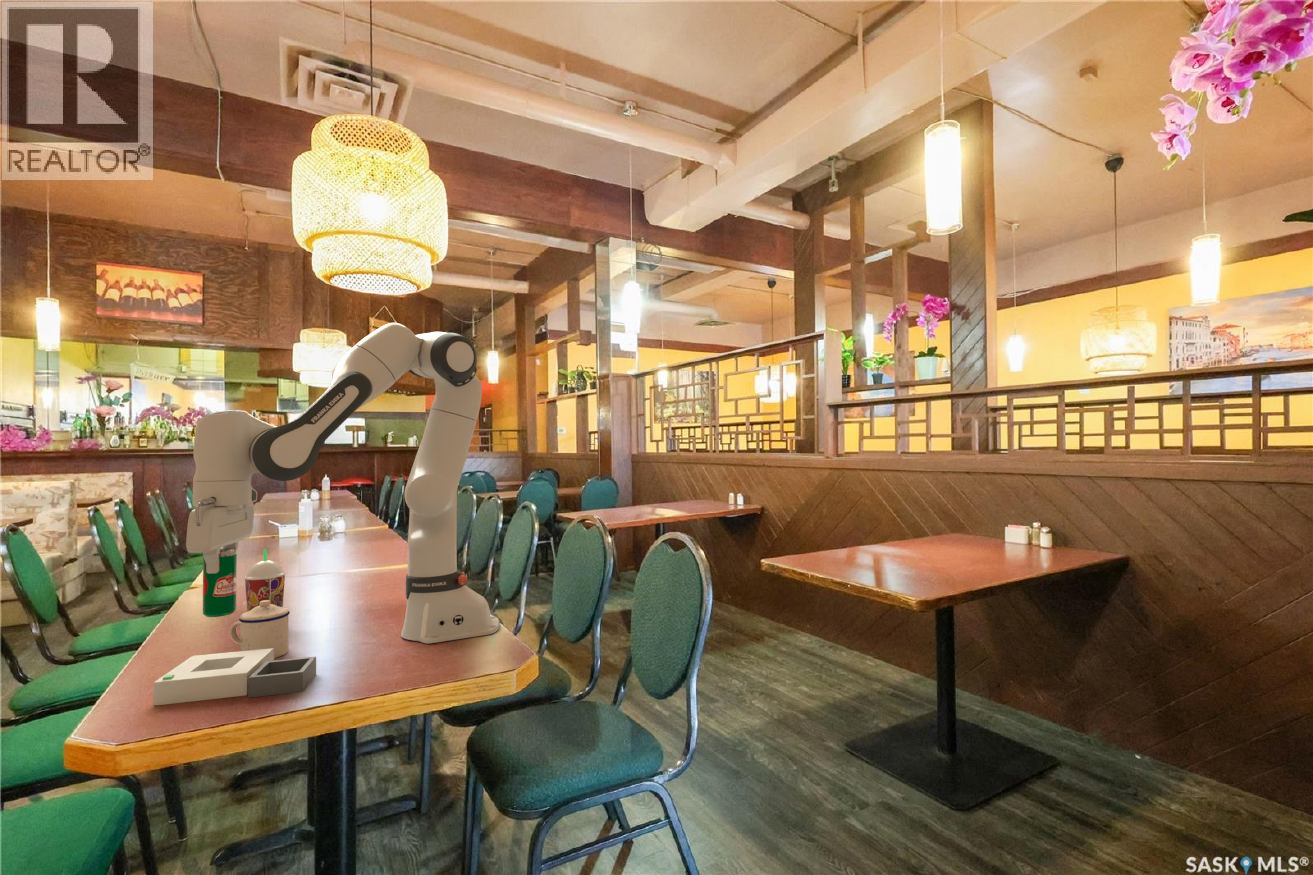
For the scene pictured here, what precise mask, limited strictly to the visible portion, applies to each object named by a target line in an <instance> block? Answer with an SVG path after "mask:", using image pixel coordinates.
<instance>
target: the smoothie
mask: <svg viewBox="0 0 1313 875" xmlns="http://www.w3.org/2000/svg"><path fill="white" fill-rule="evenodd" d="M267 555H268V551H267V548H264V549H263V559H262V560H260V561H257V562H256V563H254V564H252V566H251V567H249V569H248V570H247V573H246V575H245V576H244V586H245V597H246V598H245V599H246V612H248V611H250V610H252V609H253V608H255V607H257V606H260V605H259V603H260V601H263V600H269V601H270V604H273V605H277V606H279V607H284V594H285V593H284V592H285V578H286V572H285V570H284V569H283V567H282V566H281V565H280V564H279V563H278V562H276V561H274V560H270V559H268V556H267Z"/></svg>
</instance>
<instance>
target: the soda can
mask: <svg viewBox="0 0 1313 875" xmlns="http://www.w3.org/2000/svg"><path fill="white" fill-rule="evenodd" d="M218 555H219V562H221V571H220V572H218V573H214V574H208V573H207V572H206V562H205V560H204V557H202V614H203V615H204V616H205V618H206V617H207V618H220V617H227V616H229V615H232V614H233V613H235V611H236V610H237V573H238V572H237V565H238V563H237V558H238V557H237V556H238V554H237V552H236V553H235V552H234V549H233V548H223V547H222V548H220V554H218Z"/></svg>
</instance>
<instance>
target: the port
mask: <svg viewBox="0 0 1313 875" xmlns="http://www.w3.org/2000/svg"><path fill="white" fill-rule="evenodd" d="M266 661H275V658H274V648H270V649H260V650H249V651H241V650H238V651H230V652H221V653H220V652H218V653H210V654H209V653H207V654H197V655H191V656H190V657H189V658H187V659H186V660H184V661H183V662H181V663H180V664H179V665H177V666H176V667H174V668H172V669H171V670H169V671H168V672H167V673H165V674H164V675H163V676H161V677H159V678H158V679H157V680H155V681H154V682H153V706H154V707H155V705H156V706H163V705H171V704H172V705H173V704H182V703H190V702H198V701H199V702H200V701H207V700H216V699H217V700H218V699H224V698H225V699H226V698H234V697H244V696H249V684H248V678H249V677H250V676H251V675H252V674H253V673H254V672H255V671H256V670H257V669H258V668H259V667H261V666H262V665H263V664H264V663H265V662H266Z"/></svg>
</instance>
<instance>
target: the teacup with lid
mask: <svg viewBox="0 0 1313 875" xmlns="http://www.w3.org/2000/svg"><path fill="white" fill-rule="evenodd" d="M259 605H260V606H257V607H255V608H253V609H252V610H250V611H248V612H247V611H246V612H244V613H242V614H241V615H240V616H239V619H238V621H236V622H234V623H233V624H232V625H231V626H230V629H229V636H230V638H231V640H232V641H233V642H234V643H235V644H237V645H240V651H249V650H260V649H270V648H274V659H276V658H279V657H282V656H284V655H286V654H287V653H288V651H289V615H290V610H289V608H287V607H284V606H283V607H279V606H277V605H273V604H270V601H269V600H263V601H260V603H259ZM238 626H240V637H239V636H238V634H237V627H238Z"/></svg>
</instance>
